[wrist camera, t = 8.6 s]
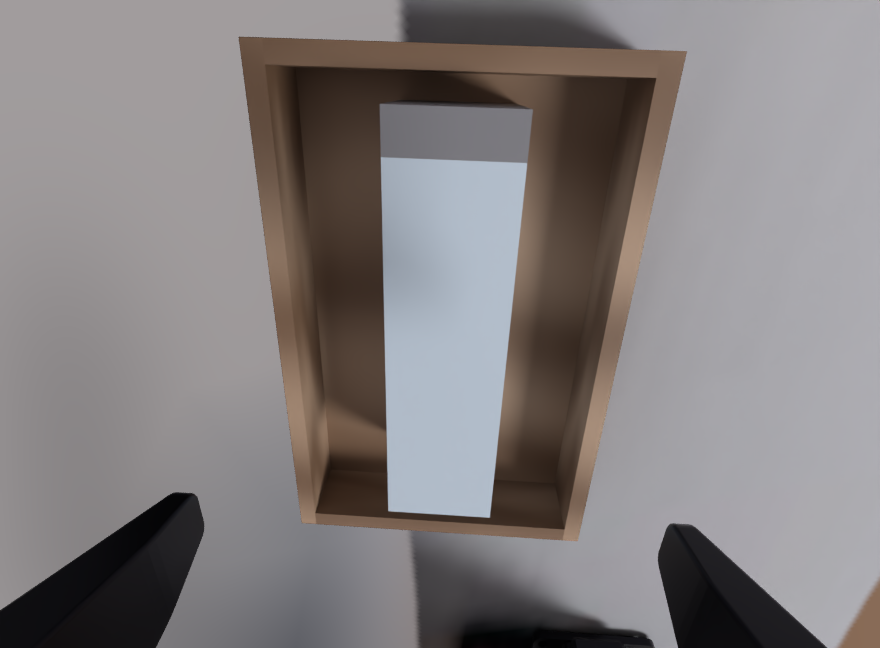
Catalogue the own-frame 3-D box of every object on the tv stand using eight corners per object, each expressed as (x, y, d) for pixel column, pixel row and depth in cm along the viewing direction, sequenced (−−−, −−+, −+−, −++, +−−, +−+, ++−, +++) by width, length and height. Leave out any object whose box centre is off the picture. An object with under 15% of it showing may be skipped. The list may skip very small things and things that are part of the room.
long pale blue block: (486, 443, 21) (489, 517, 17) (402, 437, 21) (388, 511, 17) (517, 103, 15) (532, 109, 11) (400, 99, 15) (379, 104, 11)
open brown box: (564, 487, 22) (577, 541, 20) (320, 472, 23) (301, 522, 20) (647, 57, 15) (686, 51, 12) (278, 45, 15) (238, 37, 12)
